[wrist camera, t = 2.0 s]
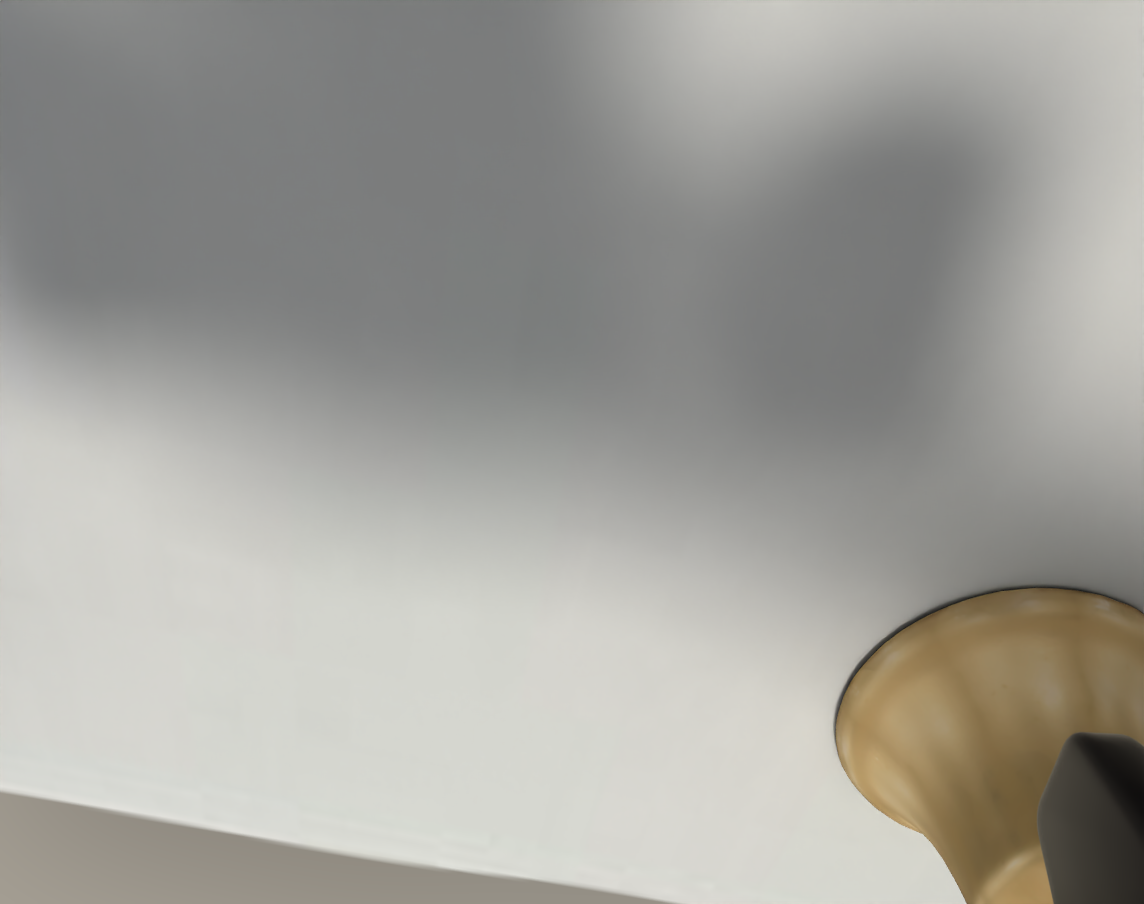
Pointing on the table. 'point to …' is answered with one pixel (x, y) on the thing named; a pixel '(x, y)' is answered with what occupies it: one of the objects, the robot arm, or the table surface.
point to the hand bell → (989, 723)
